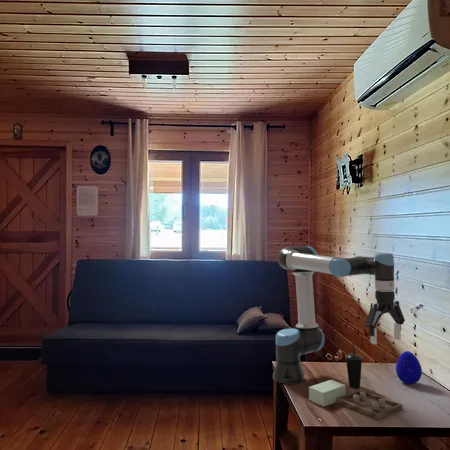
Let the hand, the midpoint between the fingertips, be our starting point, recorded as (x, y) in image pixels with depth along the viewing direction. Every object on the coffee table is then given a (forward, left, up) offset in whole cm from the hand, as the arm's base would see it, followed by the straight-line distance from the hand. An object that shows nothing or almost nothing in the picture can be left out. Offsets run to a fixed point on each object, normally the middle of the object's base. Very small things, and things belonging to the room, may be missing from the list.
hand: (385, 341), depth 170 cm
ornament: (-7, +29, -26) cm, 40 cm away
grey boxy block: (-18, -15, -26) cm, 36 cm away
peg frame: (-3, -7, -26) cm, 27 cm away
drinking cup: (-20, +6, -26) cm, 34 cm away
